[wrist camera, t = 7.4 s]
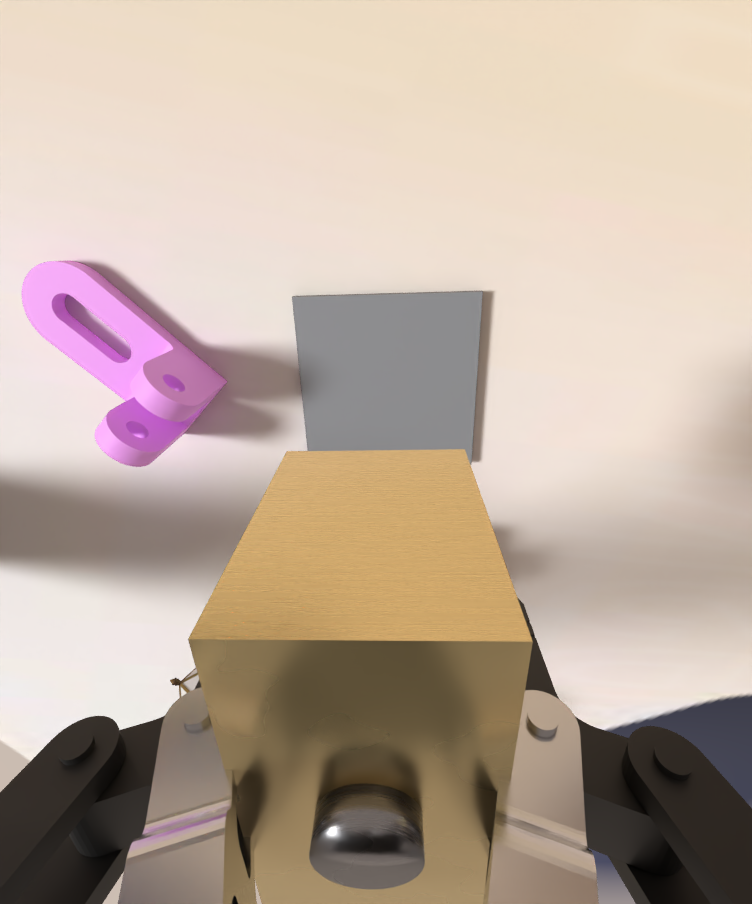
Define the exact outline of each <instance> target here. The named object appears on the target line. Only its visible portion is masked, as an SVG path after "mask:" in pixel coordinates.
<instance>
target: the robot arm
mask: <svg viewBox="0 0 752 904" xmlns="http://www.w3.org/2000/svg"><path fill="white" fill-rule="evenodd" d="M518 601H519V604H520V607H521V610H522V613H523V615H524V618H525V621H526V624H527V627H528V630H529V632H530V635H531V638H532V641H533V643H532V650H531V656H530V662H529V669H528V675H527V681H526V687H525V694H524V700H523V706H522V713H521V719H520V725H519V732H518V738H517V744H516V751H515V757H514V763H513V769H512V775H499V782H498V789H497V797H496V807H495V817H494V827H493V836H492V844H490V846H489V853H488V861H487V870H486V880H485V889H484V899H483V904H599V903H598V888H597V875H596V867H595V861H594V856H593V853H592V851H591V850H589V849H588V848H590V849H593V850H595V851H598V852H600V853H602V854H605V855H607V856H608V857H609V858H610V860H611V862H612V863H613V865H614V867H615V869H616V870H617V872H618V874H619V875H620V877H621V879H622V881H623V882H624V884H625V886H626V887H627V889H628V891H629V892H630V894H631V896H632V898H633V899H634V901H635V903H636V904H752V808H751V807H750V806H749V805H748V804H747V803H746V801H745V800H744V799H743V798H742V797H741V796H740V795H739V794H738V793H737V791H736V790H735V789H734V788H733V787H732V786H731V785H730V784H729V782H728V781H727V780H726V779H725V778H724V777H723V776H722V775H721V774H720V772H719V771H718V770H717V769H716V768H715V767H714V766H713V765H712V764H711V762H710V761H709V760H708V759H707V758H706V757H705V756H704V755H703V753H701V751H700V750H699V749H698V748H697V747H695V746H694V745H693V744H692V743H691V742H689V741H688V740H687V739H685V738H684V737H682V736H680V735H678V734H677V733H675V732H672V731H670V730H668V729H664V728H660V727H655V726H647V727H641V728H639V729H637V730H635V731H634V732H633V733H632V734H631V736H630V738H626V737H623V736H620V735H617V734H613V733H610V732H607V731H604V730H601V729H598V728H595V727H593V726H590V725H588V724H586V723H584V722H583V721H581V720H580V719H578V718H577V717H575V716H574V714H573V713H572V711H571V710H570V709H569V708H568V707H567V706H566V705H565V704H564V703H563V702H562V701H561V700H559V698H558V696H557V694H556V692H555V690H554V687H553V684H552V681H551V679H550V676H549V673H548V670H547V668H546V665H545V662H544V659H543V657H542V654H541V651H540V648H539V646H538V643H537V640H536V638H535V636H534V632H533V629H532V626H531V624H530V622H529V618H528V615H527V613H526V610H525V607H524V604H523V603H522V602H521V601H520V600H519V599H518ZM123 871H124V875H123V880H122V884H121V890H120V895H119V900H118V904H257V902H256V893H255V872H254V849H253V845H252V841H251V838H250V837H243V834H242V831H241V827H240V823H239V820H238V816H237V785H236V781H235V777H234V774H233V770H232V769H224V766H223V762H222V759H221V755H220V752H219V748H218V744H217V741H216V737H215V734H214V730H213V726H212V723H211V719H210V716H209V712H208V709H207V705H206V701H205V698H204V694H203V691H202V687H201V683H200V680H199V681H198V683H197V685H196V687H195V689H194V690H192V691H190V692H188V693H186V694H185V695H183V696H182V697H181V698H179V699H178V700H177V701H176V702H175V703H174V704H173V705H172V706H171V707H170V709H169V710H168V712H167V713H166V715H165V716H163V717H161V718H159V719H156V720H153V721H150V722H147V723H143V724H140V725H136V726H133V727H129V728H126V729H122V730H119V728H118V726H117V724H116V722H115V721H114V720H113V719H111V718H109V717H105V716H93V717H89V718H85V719H82V720H80V721H78V722H76V723H74V724H72V725H70V726H68V727H67V728H65V729H64V730H63V731H61V732H60V733H59V734H58V735H56V736H55V737H54V738H53V739H52V740H51V741H50V742H49V743H48V744H47V745H46V746H45V747H44V748H43V749H42V750H41V751H40V752H39V753H38V754H37V756H36V757H35V758H34V759H33V760H32V761H31V762H30V763H29V764H28V765H27V766H26V767H25V768H24V769H23V770H22V771H21V772H20V773H19V774H18V775H17V776H16V777H15V778H14V779H13V780H12V781H11V782H10V783H9V784H8V785H7V786H6V787H5V788H4V789H3V790H2V791H1V792H0V904H102V903H103V902H104V900H105V899H106V897H107V895H108V894H109V893H110V891H111V889H112V888H113V886H114V885H115V883H116V882H117V880H118V879H119V877H120V876H121V874H122V873H123Z"/></svg>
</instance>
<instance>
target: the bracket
mask: <svg viewBox="0 0 752 904" xmlns="http://www.w3.org/2000/svg"><path fill="white" fill-rule="evenodd" d="M67 295H70V296H72V297H73V298H74V299H76V300H77V301H78V302H79V303H81V304H82V305H83V306H84V307H86V308H87V309H88V310H89V311H90V312H92V313H93V314H94V315H95V316H97V317H98V318H99V319H100V320H102V321H103V322H104V323H105V324H107V325H108V326H109V327H110V328H111V329H113V330H114V331H115V332H116V333H118V334H119V335H120V336H121V337H123V338H124V339H125V340H126V341H127V342H128V344H129V345H130V348H131V357H130V359H127V358H125V357H123V356H121V355H120V354H119V353H117V352H116V351H115V350H114V349H112V348H111V347H110V346H109V345H107V344H106V343H105V342H104V341H102V340H101V339H100V338H99V337H97V336H96V335H95V334H94V333H92V332H91V331H90V330H88V329H87V328H86V327H85V326H83V325H82V324H81V323H80V322H78V321H77V320H76V319H75V318H73V317H72V316H71V315H70V314H69V313H68V311H67V309H66V307H65V298H66V296H67ZM22 302H23V306H24V310H25V312H26V315H27V317H28V319H29V321H30V322H31V324H32V325H33V327H34V328H35V329H36V330H37V332H38V333H39V334H40V335H41V336H42V337H44V338H45V339H46V340H47V341H48V342H50V343H51V344H52V345H54V346H55V347H56V348H58V349H59V350H60V351H61V352H63V353H64V354H65V355H67V356H68V357H69V358H71V359H72V360H73V361H74V362H76V363H77V364H78V365H80V366H81V367H82V368H84V369H85V370H86V371H87V372H89V373H90V374H91V375H93V376H94V377H95V378H97V379H98V380H99V381H100V382H102V383H103V384H104V385H106V386H107V387H108V388H110V389H111V390H112V391H114V392H115V393H116V394H117V395H119V396H120V397H121V398H123V399H124V400H125V401H126V402H124V403H122V404H121V405H119V406H117V407H115V408H114V409H112V410H110V411H109V412H108V414H107V415H106V416H105V418H104V419H103V420H102V422H101V423H100V424H99V426H98V427H97V429H96V431H95V439H96V442H97V444H98V445H99V447H100V448H101V449H102V451H104V452H105V453H106V454H107V455H108V456H109V457H111V458H112V459H114V460H116V461H118V462H120V463H123V464H125V465H129V466H136V467H141V466H146V465H148V464H150V463H151V462H153V461H154V460H155V459H156V458H157V457H158V456H159V455H160V454H162V453H163V452H164V451H165V450H166V449H167V448H168V447H169V446H171V445H172V444H173V443H174V442H175V441H176V440H177V439H178V438H180V437H181V436H182V435H183V434H184V433H185V432H186V431H187V429H188V428H189V427H190V426H191V425H192V423H193V422H194V421H195V420H196V419H197V417H198V416H199V415H200V414H201V413H202V411H203V410H204V409H205V408H206V407H207V405H208V404H209V403H210V402H211V401H212V399H213V398H214V397H215V396H216V395H217V393H218V392H219V391H220V390H221V389H222V387H223V386H224V385H225V384H226V383H227V381H226V380H225V379H224V378H223V377H222V376H220V375H219V374H218V373H217V372H216V371H214V370H213V369H212V368H211V367H210V366H208V365H207V364H206V363H205V362H204V361H202V360H201V359H200V358H199V357H198V356H197V355H195V354H194V353H193V352H192V351H191V350H189V349H188V348H187V347H186V346H185V345H183V344H182V343H181V342H180V341H179V340H178V339H176V338H175V337H174V336H173V335H172V334H170V333H169V332H168V331H167V330H166V329H164V328H163V327H162V326H161V325H160V324H158V323H157V322H156V321H155V320H154V319H153V318H151V317H150V316H149V315H148V314H147V313H145V312H144V311H143V310H142V309H141V308H139V307H138V306H137V305H136V304H135V303H134V302H132V301H131V300H130V299H129V298H128V297H126V296H125V295H124V294H123V293H122V292H120V291H119V290H118V289H117V288H116V287H114V286H113V285H112V284H111V283H110V282H109V281H107V280H106V279H105V278H104V277H103V276H101V275H100V274H99V273H98V272H96V271H95V270H94V269H92V268H90V267H88V266H86V265H84V264H82V263H78V262H74V261H50V262H44V263H41V264H39V265H37V266H35V267H34V268H32V269H31V270H30V271H29V273H28V274H27V276H26V277H25V279H24V282H23V286H22Z"/></svg>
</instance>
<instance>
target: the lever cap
mask: <svg viewBox="0 0 752 904" xmlns="http://www.w3.org/2000/svg"><path fill="white" fill-rule="evenodd" d="M188 640H189V644H190V648H191V651H192V655H193V658H194V662H195V665H196V669H197V673H198V676H199V680H200V683H201V687H202V691H203V694H204V698H205V701H206V705H207V709H208V712H209V716H210V719H211V723H212V726H213V730H214V734H215V737H216V741H217V744H218V748H219V752H220V755H221V759H222V762H223V766H224V769H232V770H233V774H234V777H235V781H236V785H237V816H238V820H239V823H240V827H241V831H242V834H243V837H250V838H251V841H252V845H253V849H254V872H255V880H256V884H257V888H258V892H259V895H260V899H261V902H262V904H483V899H484V889H485V880H486V870H487V861H488V853H489V846H490V844H492V836H493V827H494V817H495V807H496V797H497V789H498V782H499V775H512V769H513V763H514V757H515V751H516V744H517V738H518V732H519V725H520V719H521V713H522V706H523V700H524V694H525V687H526V681H527V675H528V669H529V662H530V656H531V650H532V643H533V641H532V638H531V635H530V632H529V630H528V627H527V624H526V621H525V618H524V615H523V613H522V610H521V607H520V604H519V601H518V598H517V596H516V593H515V590H514V587H513V584H512V581H511V579H510V576H509V573H508V570H507V567H506V565H505V562H504V559H503V556H502V553H501V550H500V548H499V545H498V542H497V539H496V536H495V533H494V531H493V528H492V525H491V522H490V519H489V516H488V514H487V511H486V508H485V505H484V502H483V499H482V497H481V494H480V491H479V488H478V485H477V483H476V480H475V477H474V474H473V471H472V468H471V466H470V463H469V460H468V457H467V454H466V451H465V449H447V450H366V451H287V452H286V454H285V456H284V458H283V460H282V462H281V464H280V465H279V467H278V469H277V471H276V473H275V475H274V477H273V479H272V481H271V483H270V484H269V486H268V488H267V490H266V492H265V494H264V496H263V498H262V500H261V502H260V504H259V505H258V507H257V509H256V511H255V513H254V515H253V517H252V519H251V521H250V523H249V524H248V526H247V528H246V530H245V532H244V534H243V536H242V538H241V540H240V542H239V544H238V545H237V547H236V549H235V551H234V553H233V555H232V557H231V559H230V561H229V563H228V564H227V566H226V568H225V570H224V572H223V574H222V576H221V578H220V580H219V582H218V583H217V585H216V587H215V589H214V591H213V593H212V595H211V597H210V599H209V601H208V603H207V604H206V606H205V608H204V610H203V612H202V614H201V616H200V618H199V620H198V622H197V623H196V625H195V627H194V629H193V631H192V633H191V635H190V637H189V639H188Z"/></svg>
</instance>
